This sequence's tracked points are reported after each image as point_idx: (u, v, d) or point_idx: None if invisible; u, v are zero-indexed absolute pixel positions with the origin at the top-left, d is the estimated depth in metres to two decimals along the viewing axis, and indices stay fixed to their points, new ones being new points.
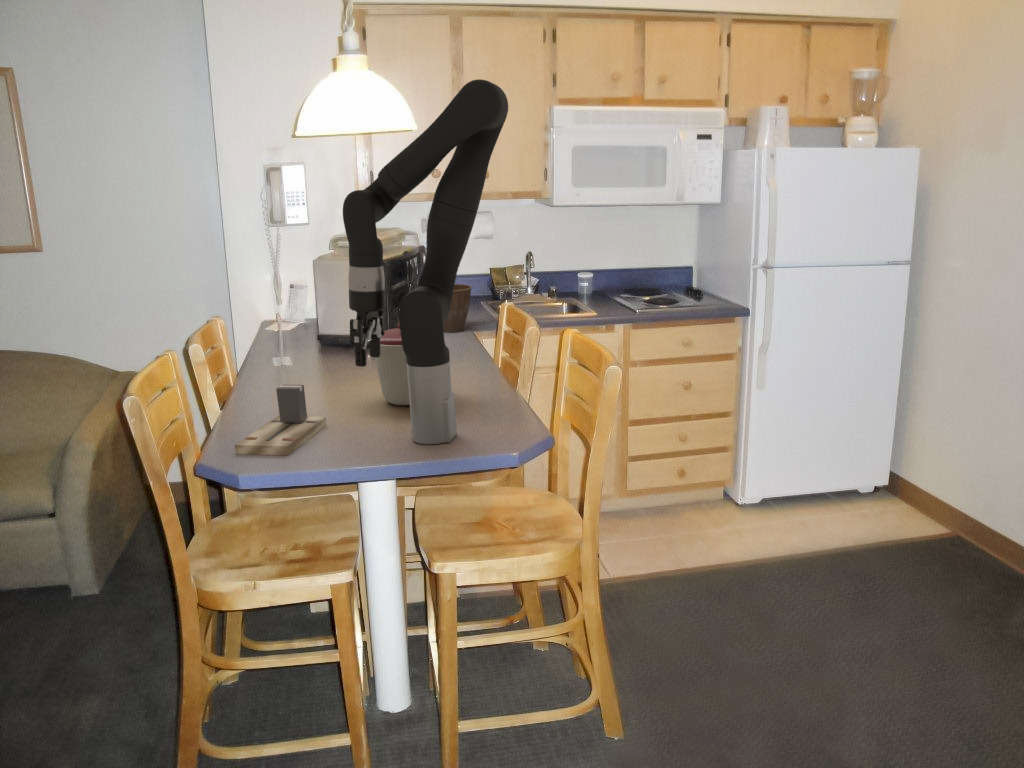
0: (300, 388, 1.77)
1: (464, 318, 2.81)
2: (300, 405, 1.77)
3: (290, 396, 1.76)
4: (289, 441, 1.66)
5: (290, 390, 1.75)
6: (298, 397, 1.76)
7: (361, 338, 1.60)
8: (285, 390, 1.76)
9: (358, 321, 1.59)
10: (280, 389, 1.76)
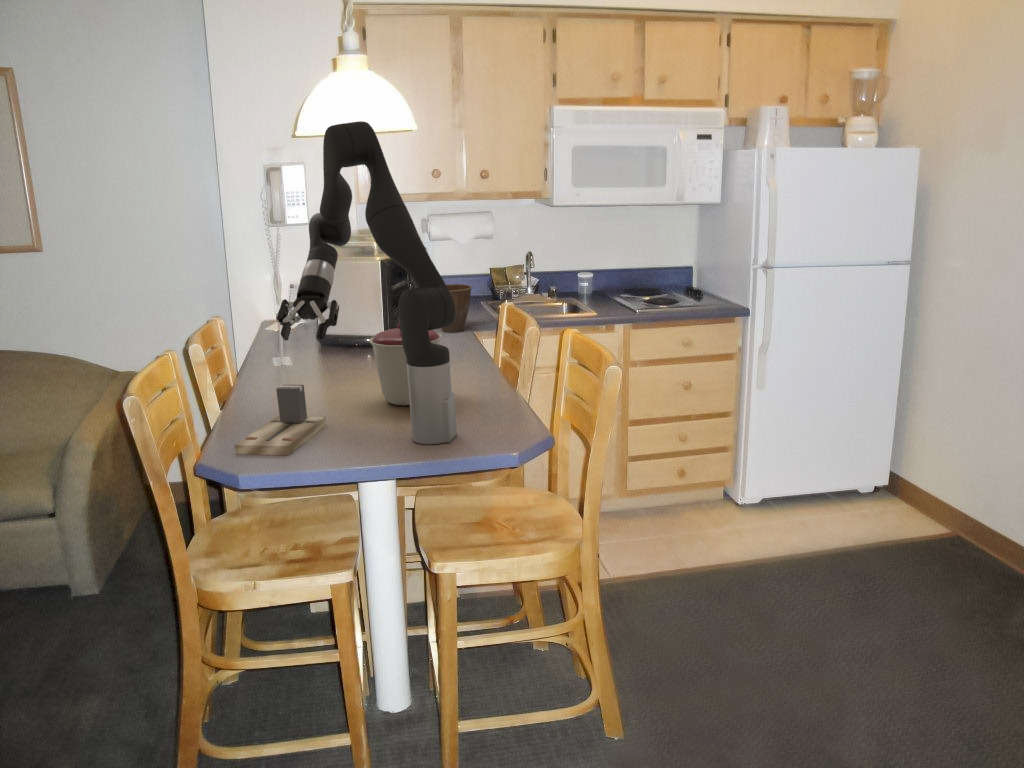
0: (300, 388, 1.77)
1: (464, 318, 2.81)
2: (300, 405, 1.77)
3: (290, 396, 1.76)
4: (289, 441, 1.66)
5: (290, 390, 1.75)
6: (298, 397, 1.76)
7: (280, 312, 1.86)
8: (285, 390, 1.76)
9: None
10: (280, 389, 1.76)
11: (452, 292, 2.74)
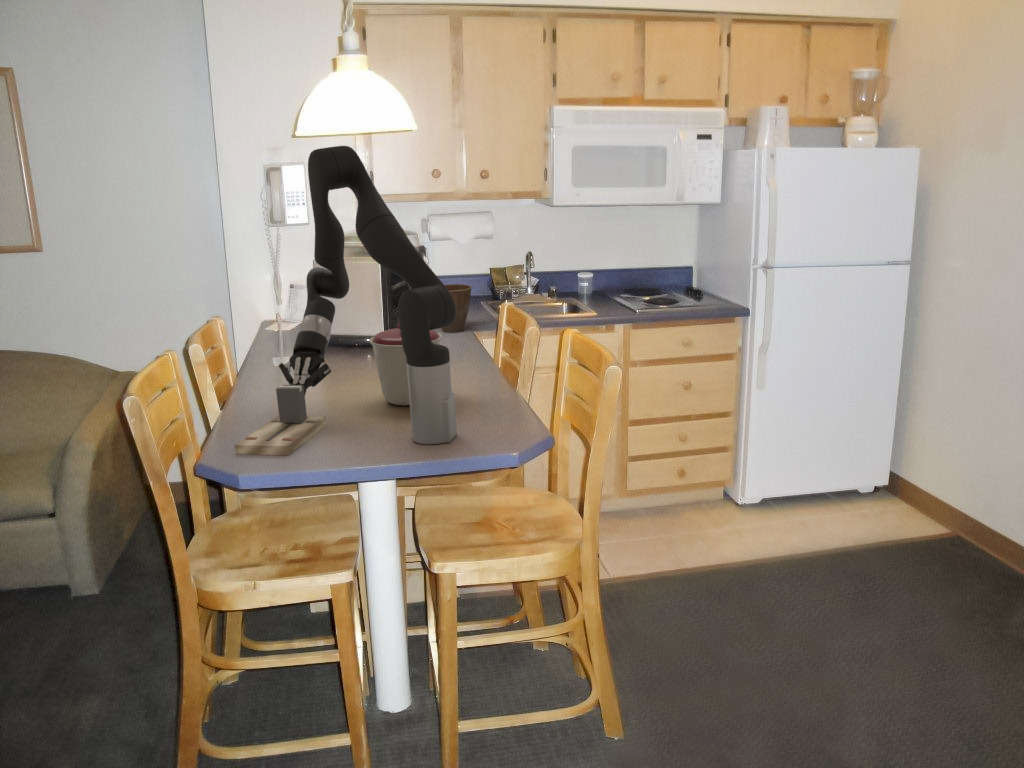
0: (300, 388, 1.76)
1: (464, 318, 2.81)
2: (300, 405, 1.77)
3: (290, 396, 1.76)
4: (289, 441, 1.66)
5: (290, 390, 1.75)
6: (298, 397, 1.76)
7: (285, 375, 1.83)
8: (285, 390, 1.75)
9: None
10: (280, 389, 1.76)
11: (452, 292, 2.74)
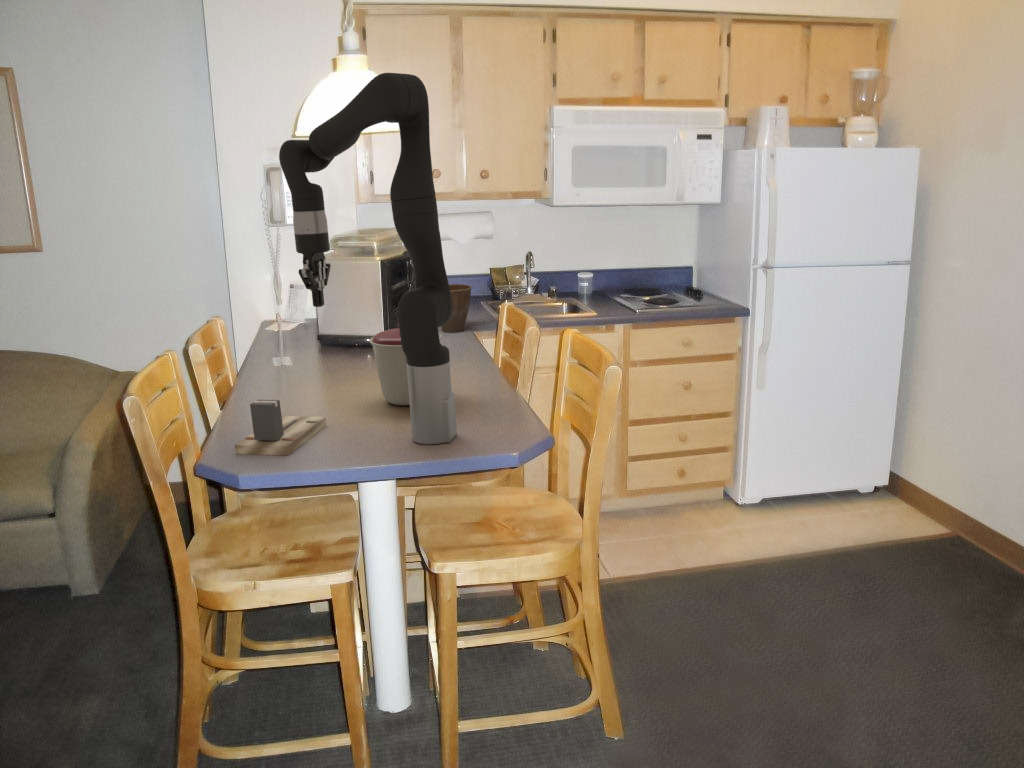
0: (275, 404, 1.65)
1: (464, 318, 2.81)
2: (275, 422, 1.65)
3: (265, 412, 1.64)
4: (289, 441, 1.66)
5: (265, 406, 1.64)
6: (273, 413, 1.64)
7: (314, 282, 1.77)
8: (259, 406, 1.64)
9: (306, 272, 1.74)
10: (254, 405, 1.64)
11: (452, 292, 2.74)
